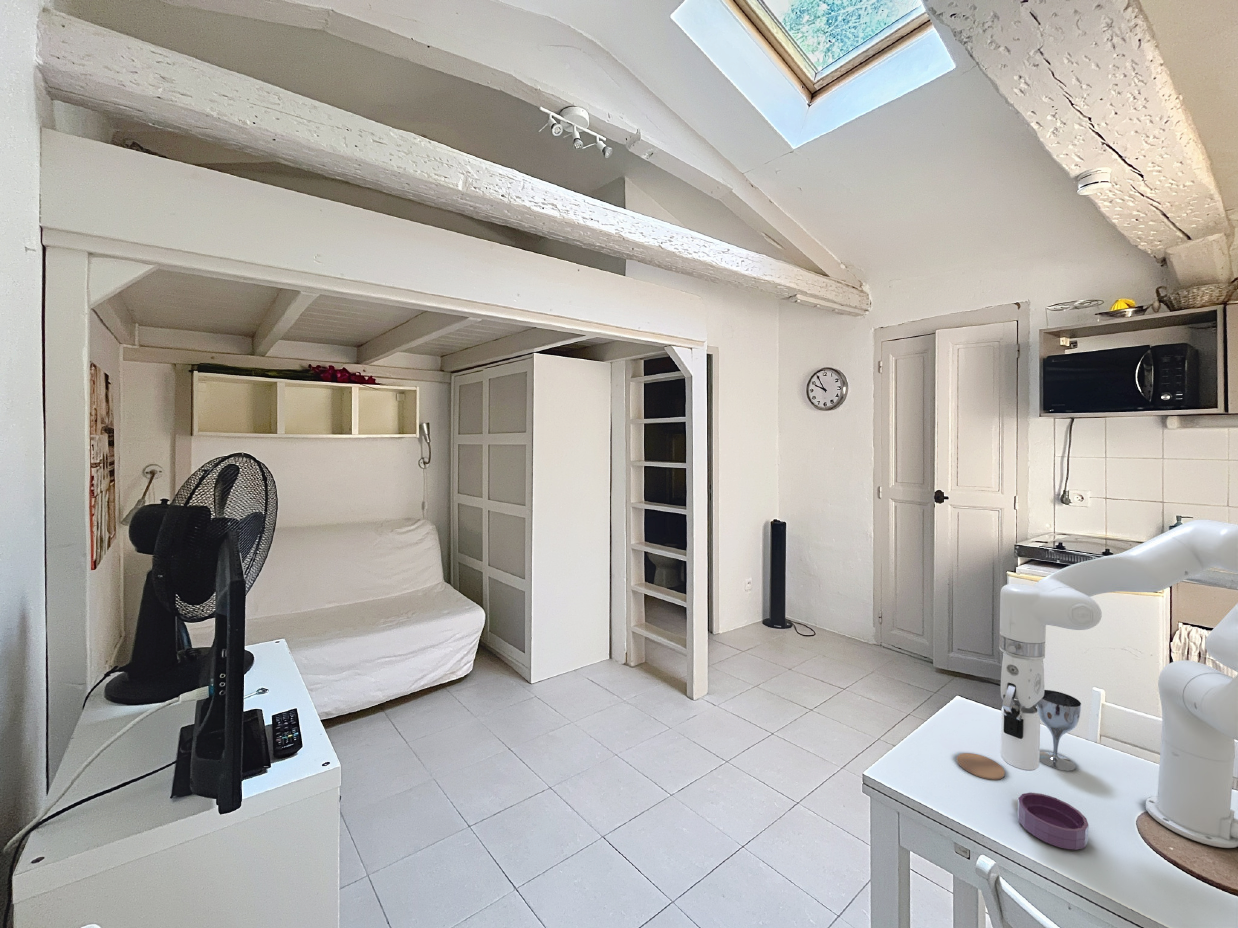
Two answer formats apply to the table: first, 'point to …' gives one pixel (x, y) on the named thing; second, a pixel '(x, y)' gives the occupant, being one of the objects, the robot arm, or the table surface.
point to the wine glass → (1058, 724)
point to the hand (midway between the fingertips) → (1020, 728)
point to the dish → (1053, 821)
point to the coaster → (980, 766)
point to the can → (1022, 741)
